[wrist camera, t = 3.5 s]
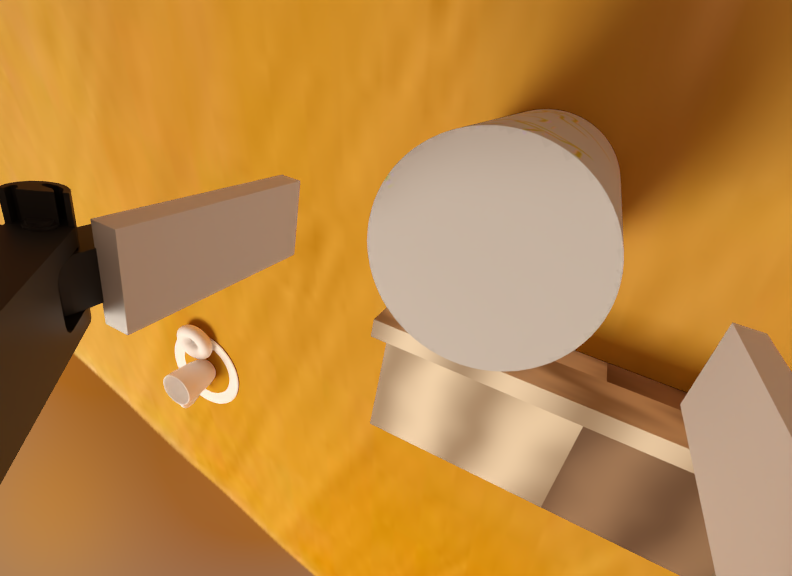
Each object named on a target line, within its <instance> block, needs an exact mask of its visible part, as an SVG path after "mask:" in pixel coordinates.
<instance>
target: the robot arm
mask: <svg viewBox="0 0 792 576" xmlns="http://www.w3.org/2000/svg"><path fill="white" fill-rule="evenodd" d="M299 189H300V181H299V180H296V179H293V178H290V177H287V176H284V175H279V176H275V177H270V178H266V179H262V180H257V181H253V182H249V183H244V184H240V185H236V186H231V187H227V188H223V189H218V190H214V191H210V192H205V193H201V194H197V195H192V196H188V197H184V198H179V199H175V200H171V201H166V202H162V203H158V204H153V205H149V206H145V207H140V208H136V209H132V210H127V211H123V212H119V213H114V214H110V215H106V216H101V217H97V218H93V219H91V224H89V225H85V226H81V227H77V226H76V220H75V214H74V208H73V202H72V196H71V190H70V189H69V188H68V187H67V186H65V185H62V184H59V183H53V182H46V181H22V182H13V183H8V184H4V185H1V186H0V204H1V208H2V212H3V216H4V220H5V224H4V225H0V484H1V482H2V480H3V479H4V477H5V475H6V473H7V471H8V470H9V468H10V466H11V464H12V462H13V460H14V459H15V457H16V455H17V453H18V452H19V450H20V448H21V446H22V444H23V443H24V441H25V439H26V437H27V435H28V434H29V432H30V430H31V428H32V426H33V424H34V423H35V421H36V419H37V417H38V416H39V414H40V412H41V410H42V409H43V407H44V405H45V403H46V401H47V399H48V398H49V396H50V394H51V392H52V391H53V389H54V387H55V385H56V383H57V382H58V380H59V378H60V376H61V374H62V373H63V371H64V369H65V367H66V365H67V364H68V362H69V360H70V358H71V356H72V355H73V353H74V351H75V349H76V347H77V346H78V344H79V342H80V340H81V338H82V337H83V335H84V333H85V331H86V329H87V328H88V326H89V324H90V322H91V312H90V307H93V306H95V305H98V304H100V303H103V308H104V314H105V321H106V324H107V325H109V326H111V327H113V328H115V329H117V330H119V331H121V332H123V333H125V334H126V335H129V334H132V333H134V332H136V331H138V330H140V329H142V328H144V327H146V326H148V325H150V324H152V323H154V322H156V321H158V320H160V319H162V318H164V317H166V316H169V315H171V314H173V313H175V312H177V311H179V310H181V309H183V308H185V307H187V306H189V305H191V304H193V303H195V302H197V301H199V300H201V299H203V298H206V297H208V296H210V295H212V294H214V293H216V292H218V291H220V290H222V289H224V288H226V287H228V286H230V285H232V284H234V283H236V282H238V281H240V280H243V279H245V278H247V277H249V276H251V275H253V274H255V273H257V272H259V271H261V270H263V269H265V268H267V267H269V266H271V265H273V264H275V263H277V262H280V261H282V260H284V259H286V258H288V257H290V256H292V255H294V249H295V237H296V225H297V213H298V201H299ZM680 406H681V411H682V416H683V420H684V425H685V430H686V435H687V440H688V444H689V449H690V454H691V459H692V464H693V468H694V473H695V478H696V483H697V488H698V492H699V497H700V502H701V507H702V512H703V516H704V521H705V526H706V531H707V536H708V540H709V545H710V550H711V555H712V560H713V564H714V569H715V574H716V576H792V372H791V371H790V369H789V367H788V366H787V364H786V363H785V361H784V360H783V358H782V356H781V355H780V353H779V352H778V350H777V349H776V347H775V345H774V344H773V342H772V341H771V339H770V338H769V336H768V335H767V334H766V333H763V332H760V331H757V330H754V329H751V328H748V327H744V326H741V325H738V324H735V323H732V324H731V326H730V327H729V329H728V330H727V332H726V333H725V335H724V337H723V338H722V340H721V341H720V343H719V344H718V346H717V348H716V349H715V351H714V352H713V354H712V355H711V357H710V359H709V360H708V362H707V363H706V365H705V366H704V368H703V369H702V371H701V373H700V374H699V376H698V377H697V379H696V380H695V382H694V384H693V385H692V387H691V388H690V390H689V391H688V393H687V395H686V396H685V398H684V399H683V401H682V402H681V404H680Z"/></svg>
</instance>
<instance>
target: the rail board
mask: <svg viewBox="0 0 792 576" xmlns="http://www.w3.org/2000/svg"><path fill="white" fill-rule="evenodd" d="M371 336H372V337H374V338H376V339H379V340H381V341H383V342H386V348H385V353H384V358H383V363H382V368H381V373H380V378H379V382H378V387H377V392H376V397H375V402H374V407H373V412H372V417H371V422H370V424H372V425H374V426H376V427H378V428H380V429H383V430H385V431H387V432H389V433H391V434H393V435H395V436H397V437H399V438H401V439H403V440H405V441H407V442H409V443H411V444H413V445H415V446H417V447H419V448H421V449H423V450H425V451H427V452H429V453H431V454H433V455H436V456H438V457H440V458H442V459H444V460H446V461H448V462H450V463H452V464H454V465H456V466H458V467H460V468H462V469H464V470H466V471H468V472H470V473H472V474H474V475H476V476H478V477H480V478H482V479H484V480H486V481H488V482H491V483H493V484H495V485H497V486H499V487H501V488H503V489H505V490H507V491H509V492H511V493H513V494H515V495H517V496H519V497H521V498H523V499H525V500H527V501H529V502H531V503H533V504H535V505H537V506H539V507H541V508H543V509H546V510H548V511H550V512H552V513H554V514H556V515H558V516H560V517H562V518H564V519H566V520H568V521H570V522H572V523H574V524H576V525H578V526H580V527H582V528H584V529H586V530H588V531H590V532H592V533H594V534H596V535H598V536H601V537H603V538H605V539H607V540H609V541H611V542H613V543H615V544H617V545H619V546H621V547H623V548H625V549H627V550H629V551H631V552H633V553H635V554H637V555H639V556H641V557H643V558H645V559H647V560H649V561H651V562H653V563H656V564H658V565H660V566H662V567H664V568H666V569H668V570H670V571H672V572H674V573H676V574H678V575H680V576H716V574H715V569H714V564H713V560H712V555H711V550H710V545H709V540H708V536H707V531H706V526H705V521H704V516H703V512H702V507H701V502H700V497H699V492H698V488H697V483H696V478H695V473H694V468H693V464H692V459H691V454H690V449H689V444H688V440H687V435H686V430H685V425H684V420H683V416H682V411H681V406H680V404H681V402H682V401H683V399H684V398H685V396H686V395H687V393H686V392H683V391H681V390H678V389H675V388H673V387H670V386H667V385H665V384H662V383H659V382H657V381H654V380H652V379H649V378H646V377H644V376H641V375H638V374H636V373H633V372H630V371H628V370H625V369H622V368H620V367H617V366H614V365H612V364H609V363H607V362H604V361H601V360H599V359H596V358H593V357H591V356H588V355H585V354H583V353H580V352H577V351H575V350H574V351H572V352H571V353H569V354H567V355H565V356H564V357H562V358H560V359H558V360H556V361H553V362H551V363H548V364H545V365H543V366H539V367H536V368H531V369H526V370H519V371H506V372H505V371H487V370H481V369H475V368H471V367H467V366H464V365H461V364H458V363H455V362H452V361H450V360H448V359H445V358H443V357H441V356H440V355H438V354H436V353H434V352H432V351H431V350H429V349H428V348H426V347H425V346H423V345H422V344H421V343H419V342H418V341H417V340H415V339H414V338H413V337H412V336H411V335H410V334H409V333H408V332H407V331H406V330H405V329H404V328H403V327H402V326H401V325H400V324H399V323H398V322H397V320H396V319H395V318H394V317H393V315H392V314H391V312H390V311H389V309H388V308H386V309H385V310H383V311H382V312H381V313H380V314H379V315H378V316H377V317H376V318H375V319H374V323H373V328H372V334H371Z"/></svg>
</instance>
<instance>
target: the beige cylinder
mask: <svg viewBox="0 0 792 576" xmlns="http://www.w3.org/2000/svg"><path fill="white" fill-rule="evenodd" d="M367 246H368V257H369V263H370V268H371V272H372V275H373V278H374V281H375V284H376V287H377V289H378V291H379V294H380V296H381V298H382V300H383V301H384V303H385V305H386V306H387V308H388V309H389V311H390V312H391V314H392V315H393V317H394V318H395V319H396V320H397V322H398V323H399V324H400V325H401V326H402V327H403V328H404V329H405V330H406V331H407V332H408V333H409V334H410V335H411V336H412V337H413V338H414V339H415V340H417V341H418V342H419V343H421V344H422V345H423V346H425V347H426V348H428V349H429V350H431V351H432V352H434V353H436V354H438V355H440V356H441V357H443V358H445V359H448V360H450V361H452V362H455V363H458V364H461V365H464V366H467V367H471V368H475V369H481V370H487V371H505V372H506V371H519V370H526V369H531V368H536V367H539V366H543V365H545V364H548V363H551V362H553V361H556V360H558V359H560V358H562V357H564V356H565V355H567V354H569V353H571V352H572V351H574V350H575V349H577V348H578V347H579V346H580V345H582V344H583V343H584V342H585V341H586V340H587V339H588V338H590V337H591V336H592V335H593V333H594V332H595V331H596V330H597V329H598V328H599V326H600V325H601V324H602V322H603V321H604V320H605V318H606V316H607V315H608V313H609V311H610V310H611V308H612V306H613V304H614V301H615V299H616V296H617V294H618V290H619V287H620V283H621V278H622V273H623V264H624V246H623V222H622V198H621V176H620V168H619V164H618V160H617V157H616V155H615V152H614V150H613V148H612V146H611V145H610V143H609V141H608V140H607V139H606V137H605V136H604V135H603V134H602V133H601V132H600V131H599V130H598V129H597V128H596V127H595V126H594V125H592V124H591V123H590V122H588V121H587V120H585V119H583V118H581V117H579V116H577V115H575V114H572V113H569V112H565V111H561V110H554V109H538V110H531V111H526V112H522V113H518V114H514V115H510V116H506V117H502V118H498V119H494V120H490V121H486V122H482V123H478V124H474V125H470V126H466V127H462V128H458V129H454V130H450V131H447V132H444V133H441V134H439V135H437V136H434V137H432V138H430V139H428V140H427V141H425V142H423V143H421V144H420V145H418V146H417V147H415V148H414V149H413V150H411V151H410V152H409V153H408V154H406V155H405V156H404V157H403V158H402V159H401V160H400V161H399V162H398V163H397V164H396V165H395V167H394V168H393V169H392V170H391V172H390V173H389V174H388V175H387V177H386V179H385V180H384V182H383V183H382V185H381V187H380V189H379V191H378V193H377V196H376V198H375V200H374V203H373V206H372V210H371V214H370V218H369V224H368V234H367Z"/></svg>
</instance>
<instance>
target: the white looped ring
mask: <svg viewBox="0 0 792 576" xmlns="http://www.w3.org/2000/svg"><path fill="white" fill-rule="evenodd" d="M212 350H214V351H215V352H216V353H217V354H218V355H219V356H220V357H221V359H222V360H223V362H224V363H225V365H226V367H227V370H228V373H229V379H230V382H229V386H228V388H227V390H226V391H224V392H222V393H213V392H210V391H208V390H206V389H205V388H207V387H208V386H209V385H210V383H211V382H212V381H213V380H214V378H215V376H216V370H215V368H214V366H213V365H212V363H211V362H209V361H208V360H206V358H208V357H209V356H210V355H211V353H212ZM185 352H187V353H188V354H189V355H190V356H192V357H194V358H196V359H199V360H196V361H193V362H191V363H188V364H186V362H185ZM175 357H176V361H177V364H178V367H179V369H177V370H175V371H174V372H172V373H170V374H168V375H167V376H165V378H164V381H163V383H164V388H165V390H166V392H167V393H168V395H169V396H170V397H171V398H172V399H173V400H174V401H175V402H177V403H179V404H180V405H181V406H182V407H184V408H188V407H190V406H191V405H192V404H193V403H194V402H195V401H196V400H197V398H198V397H199V396H200V395H201V396H202V397H204V398H206V399H207V400H209V401H212V402H215V403H221V404H223V403H228V402H230V401H232V400H233V399H234V398H235V397H236V395H237V393H238V388H239V381H238V376H237V372H236V369H235V367H234V365H233V363H232V361H231V359H230V358H229V356H228V355H227V353H226V352H225V351H224V350H223V349H222V347H221V346H220V345H219V344H217V343H216V342H215V341H214V340H212V339H211V338H209V337H208V336H207V334H206V333H205V332H204V331H203V330H201V329H200V328H198V327H196V326H194V325H184V326H182V327H180V328H179V329H178V331H177V341H176V344H175Z"/></svg>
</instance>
